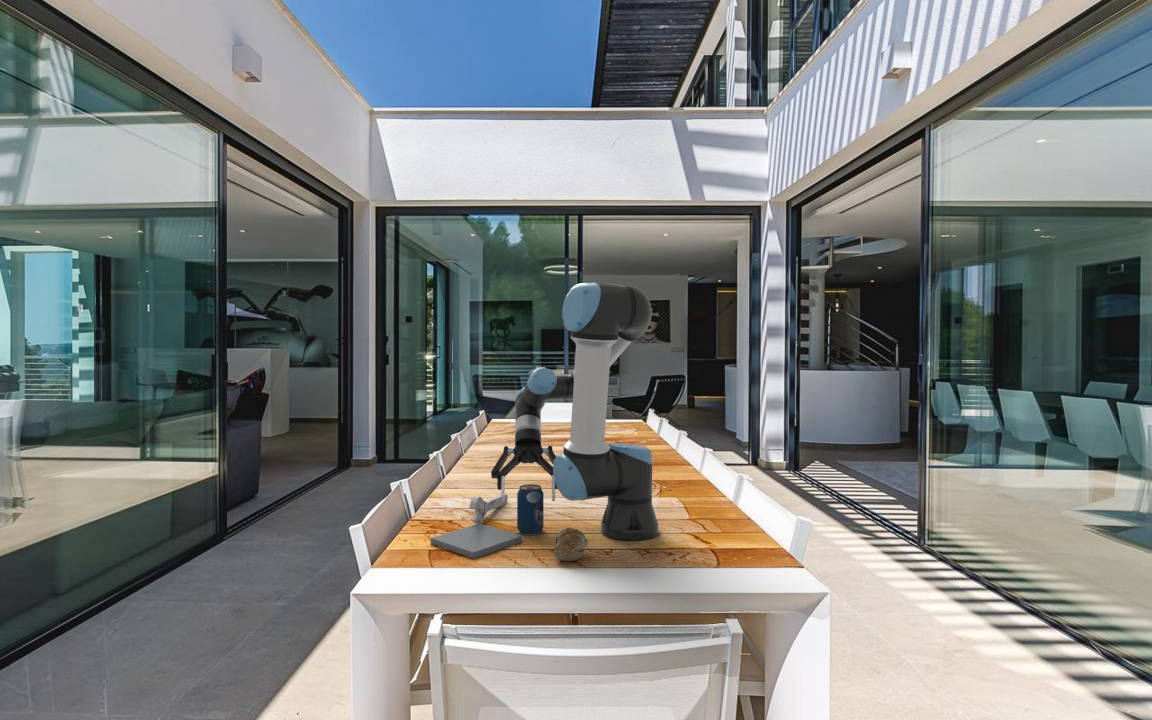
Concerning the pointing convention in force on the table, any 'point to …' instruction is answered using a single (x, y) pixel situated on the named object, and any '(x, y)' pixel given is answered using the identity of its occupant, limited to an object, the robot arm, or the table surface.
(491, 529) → the slate board
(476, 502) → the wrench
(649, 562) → the table surface
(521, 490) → the soda can
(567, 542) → the seashell
